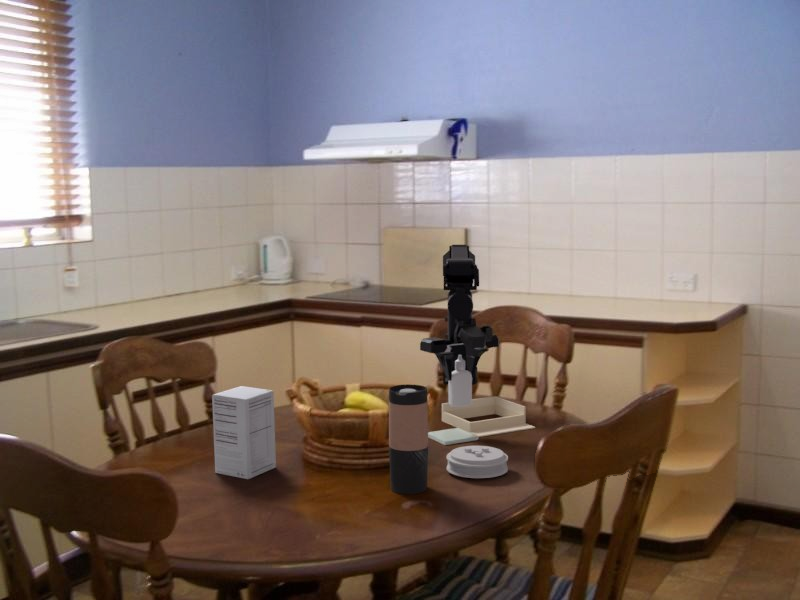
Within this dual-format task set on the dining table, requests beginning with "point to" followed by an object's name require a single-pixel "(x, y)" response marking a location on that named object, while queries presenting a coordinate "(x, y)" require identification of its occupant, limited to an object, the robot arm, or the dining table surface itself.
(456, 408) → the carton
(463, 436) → the coaster
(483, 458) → the lid
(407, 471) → the travel mug
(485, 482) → the dining table surface
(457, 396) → the eye dropper bottle
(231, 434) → the supplement box
